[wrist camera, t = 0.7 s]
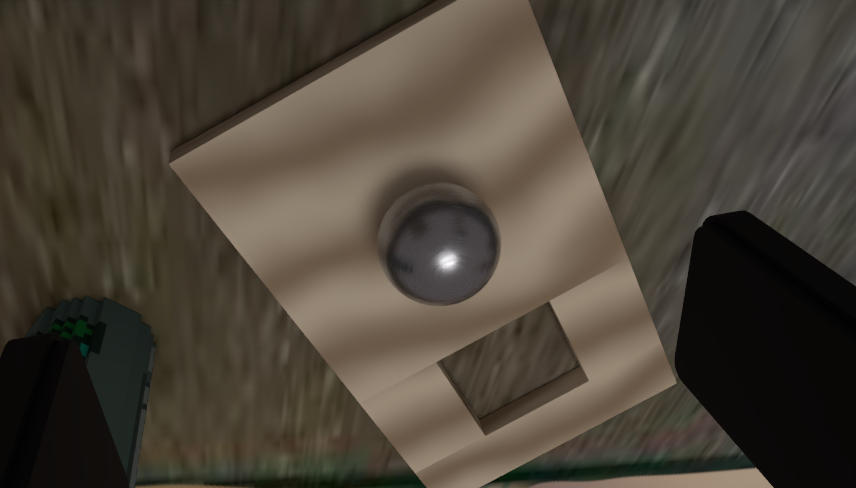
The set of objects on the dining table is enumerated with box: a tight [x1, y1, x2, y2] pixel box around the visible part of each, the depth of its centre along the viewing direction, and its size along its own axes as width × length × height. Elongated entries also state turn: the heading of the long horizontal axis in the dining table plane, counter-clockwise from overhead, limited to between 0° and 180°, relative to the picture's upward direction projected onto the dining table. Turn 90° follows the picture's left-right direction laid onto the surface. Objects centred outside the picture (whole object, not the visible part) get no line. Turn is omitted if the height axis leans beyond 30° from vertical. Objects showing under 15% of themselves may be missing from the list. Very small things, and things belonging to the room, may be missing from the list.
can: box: [25, 296, 156, 488], centre depth 32 cm, size 6×6×15 cm
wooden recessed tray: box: [169, 0, 676, 488], centre depth 41 cm, size 30×18×2 cm, turn 26°
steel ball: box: [377, 182, 501, 306], centre depth 35 cm, size 6×6×6 cm
